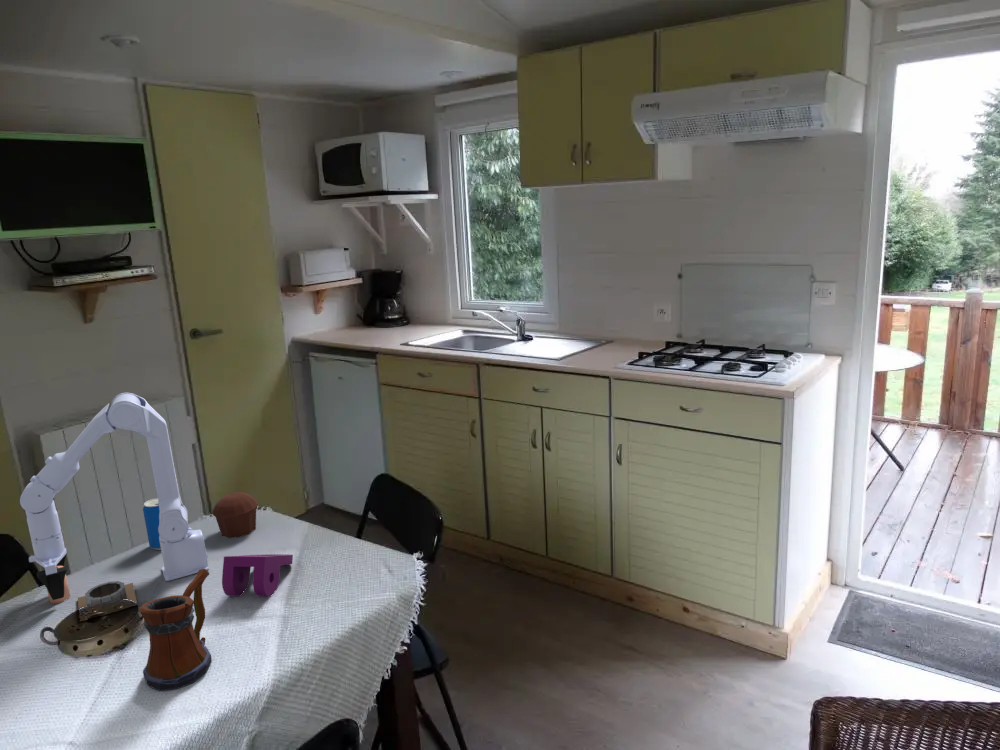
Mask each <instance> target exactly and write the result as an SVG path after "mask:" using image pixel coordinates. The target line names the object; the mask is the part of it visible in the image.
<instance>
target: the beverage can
mask: <svg viewBox="0 0 1000 750" xmlns="http://www.w3.org/2000/svg"><path fill="white" fill-rule="evenodd" d="M142 511H143V517H144V523H145V529H146V535H147V540H148V544H149V548H151V549H154V550H157V551H158V550H159V551H161V546H160V541H159V536H160V535H159V532H158V527H159V521H160V520H159V513H160V510H159V502H158V497H154V498H151V499H149V500H146V501H145V502H144V503H143V507H142Z"/></svg>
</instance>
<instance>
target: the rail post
mask: <svg viewBox="0 0 1000 750" xmlns="http://www.w3.org/2000/svg"><path fill="white" fill-rule="evenodd" d="M56 567H58V568H61V567H65V565H64V566H56ZM68 583H69V582H68V577H67V574H66V575H65V579H64V597H63V598H60V599H56V600H53V599H52V598H51V596H50V594H49V592H48V590H47V589H46V590H47V595H48V599H49V600H48V601H49V603H50V604H59V602H60V603H62V601H63V602H65V601H64V600H66V599H67V600H69V599H70V598H71V592H70V588H69V584H68ZM69 597H70V598H69ZM68 598H69V599H68ZM67 600H66V601H67Z"/></svg>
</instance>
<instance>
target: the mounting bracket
mask: <svg viewBox="0 0 1000 750" xmlns="http://www.w3.org/2000/svg"><path fill="white" fill-rule="evenodd" d="M293 556H294V554H282V553H281V554H273V553H272V554H271V553H270V554H267V553H266V554H248V555H247V554H246V555H231V556H223V563H222V564H223V565H222V576H221V578H222V579H221V585H222V590H223V593H224V594H225V595H226V596H227V597H241V596H242V595H243V594H244V593H243V591H245V589H246V588H247V589H248V587H249V585H250V584H249V583H250V580H251V579H250V578H251V569H252V568H251V567H253V573H252V589H253V591H254V593H255V595H256V596H257V597H272V596H273V595H274V593H275V592H276V591H277V590H278V587H279V583H280V573H281V566H286V565H293ZM247 589H246V590H247ZM276 589H277V590H276ZM275 590H276V591H275ZM274 591H275V592H274ZM245 592H246V591H245ZM242 593H243V594H242ZM241 594H242V595H241ZM272 594H273V595H272ZM240 595H241V596H240ZM271 595H272V596H271Z"/></svg>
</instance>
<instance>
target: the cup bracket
mask: <svg viewBox="0 0 1000 750" xmlns="http://www.w3.org/2000/svg"><path fill="white" fill-rule="evenodd" d="M123 599H128V600H132V601H134V602H136V603H137V604H138V601H137V596H136V591H135V587H134V582H131V583H128V584H127V583H126V584H125V582H122V581H118V580H116V581H114V580H113V581H107V582H104V583H99V584H97V585H95V586H93V587H91V588H89V590H87V591H86V592H85V594H84V595H83V596H80V597H77V605H78V607H77V608H78V609H80V608H82V607H86V606H90V605H94V604H97V603H103V602H107V601H114V600H123Z"/></svg>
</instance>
